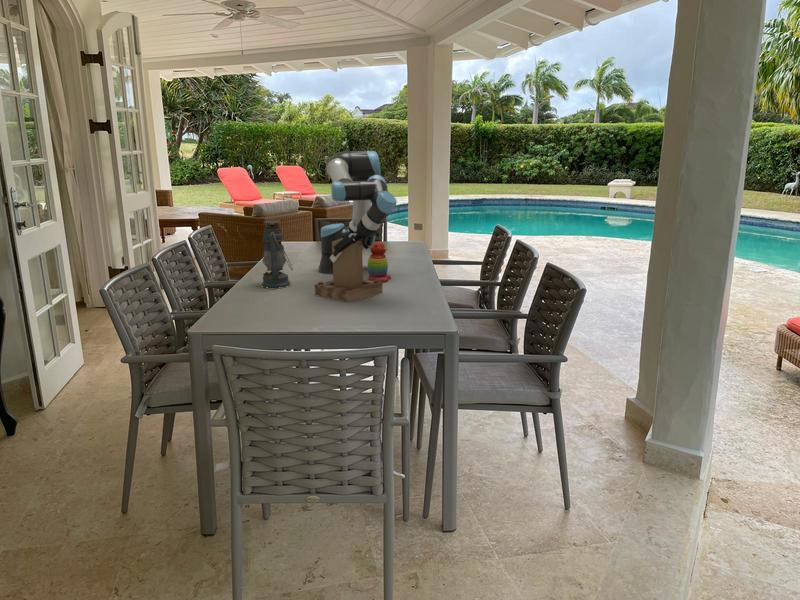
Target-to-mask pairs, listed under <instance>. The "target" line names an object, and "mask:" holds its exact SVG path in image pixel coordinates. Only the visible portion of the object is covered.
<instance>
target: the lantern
mask: <svg viewBox="0 0 800 600" xmlns="http://www.w3.org/2000/svg"><path fill="white" fill-rule="evenodd" d="M262 223H263V224H266V225H265V227H263V234H262V240H261V242H264V244H265V245H264V246H263V249H262V252H263V258H262V264H264V265H265V267H266V268H267V269H266V271H265V272H264V273H263V274H262V283H261V287H262V286H263V287H268V288H276V289H280V288H279V287H284V288H287V287H286V286H288V287H290V286H291V282H290V280H289V274H287V273H284V272H283V270H284V269H283V268H284V265H285V264H286V263H287V265H288V267H289V269H290V270H291V271H294V269H293V266H292V264H291V261H290V259H289V257H288V255H287V254H286V251H285V246H284V245H283V244H282V242H283V241H285V239H284V237H283V236H284V235H283V232H282V227H280V225H279V223H282V221H281V220H277V219H270V218H269V219H267V220H264V221H263V222H262ZM289 285H290V286H289ZM263 287H262V288H263ZM268 288H267V289H268Z"/></svg>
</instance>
